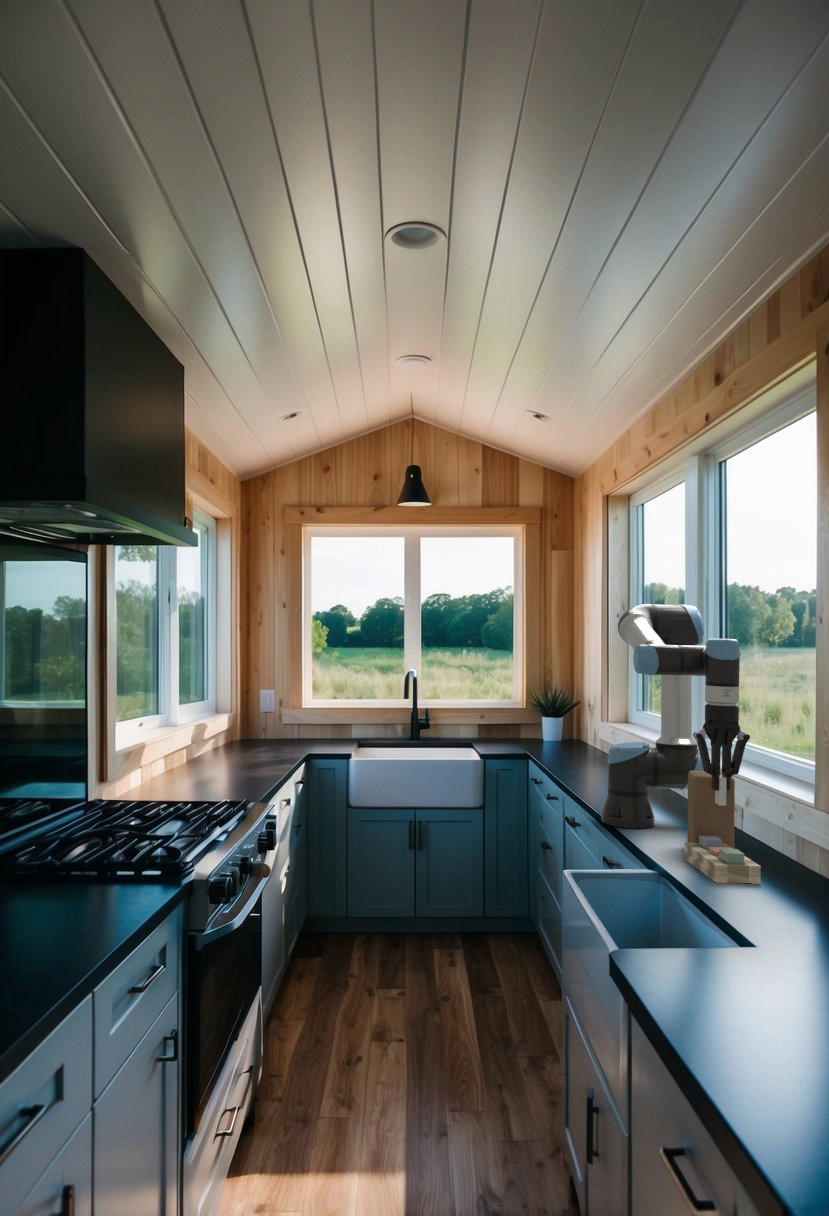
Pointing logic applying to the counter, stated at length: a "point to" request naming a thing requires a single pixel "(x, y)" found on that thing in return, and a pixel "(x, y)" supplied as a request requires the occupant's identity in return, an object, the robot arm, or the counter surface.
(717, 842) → the grey small cube
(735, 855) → the green button
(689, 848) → the wooden slotted tray
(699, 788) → the block
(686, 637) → the robot arm
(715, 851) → the terracotta button
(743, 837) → the counter surface
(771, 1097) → the counter surface
